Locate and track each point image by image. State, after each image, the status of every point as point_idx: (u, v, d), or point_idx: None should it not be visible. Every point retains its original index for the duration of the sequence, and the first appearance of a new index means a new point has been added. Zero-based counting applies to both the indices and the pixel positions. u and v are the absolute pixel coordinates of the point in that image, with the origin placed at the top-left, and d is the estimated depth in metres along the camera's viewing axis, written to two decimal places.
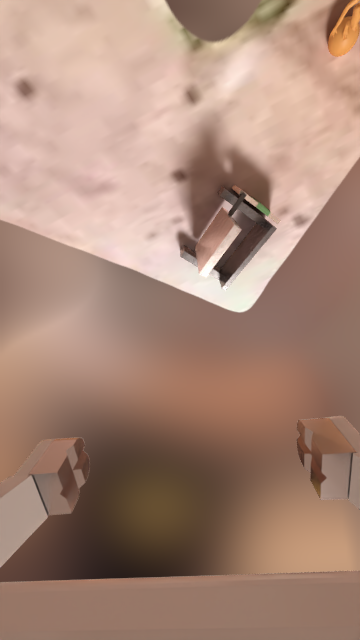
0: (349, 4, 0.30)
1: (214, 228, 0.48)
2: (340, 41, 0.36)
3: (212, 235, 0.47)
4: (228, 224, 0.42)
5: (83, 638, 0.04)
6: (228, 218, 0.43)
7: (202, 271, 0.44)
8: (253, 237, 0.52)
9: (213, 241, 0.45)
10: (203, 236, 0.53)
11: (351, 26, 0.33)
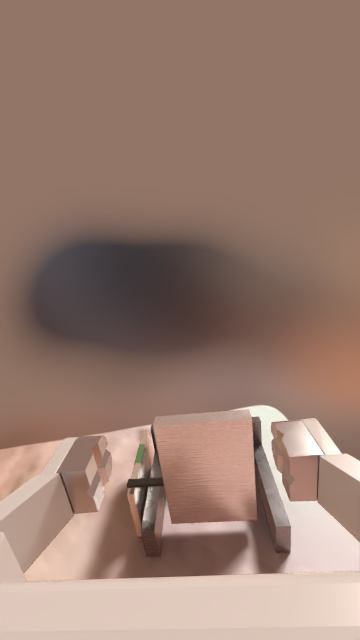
0: None
1: (197, 491, 0.27)
2: None
3: (204, 478, 0.27)
4: (164, 448, 0.26)
5: (83, 638, 0.04)
6: (162, 464, 0.26)
7: (245, 417, 0.25)
8: None
9: (203, 456, 0.26)
10: (228, 514, 0.28)
11: None
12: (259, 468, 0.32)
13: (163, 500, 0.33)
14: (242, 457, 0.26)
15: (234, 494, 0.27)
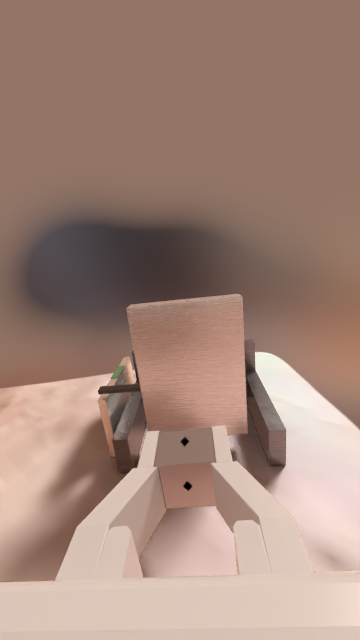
0: None
1: (178, 395, 0.24)
2: None
3: (187, 378, 0.23)
4: (140, 339, 0.22)
5: (83, 638, 0.04)
6: (138, 360, 0.23)
7: (234, 297, 0.21)
8: None
9: (185, 348, 0.22)
10: None
11: None
12: (251, 388, 0.29)
13: (143, 424, 0.29)
14: (231, 349, 0.22)
15: (221, 399, 0.23)
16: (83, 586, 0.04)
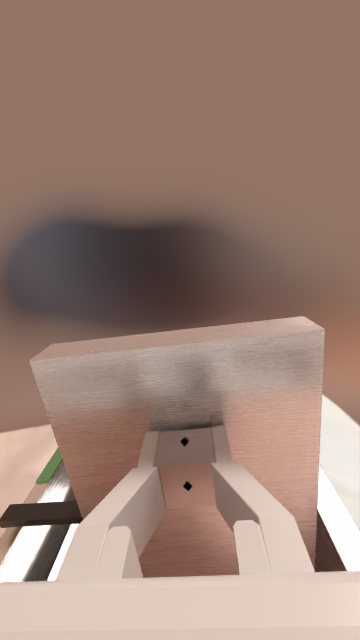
0: None
1: (167, 536, 0.11)
2: None
3: None
4: (72, 427, 0.09)
5: (83, 638, 0.04)
6: (72, 470, 0.10)
7: (300, 329, 0.08)
8: None
9: None
10: None
11: None
12: None
13: None
14: (287, 449, 0.09)
15: None
16: (83, 586, 0.04)
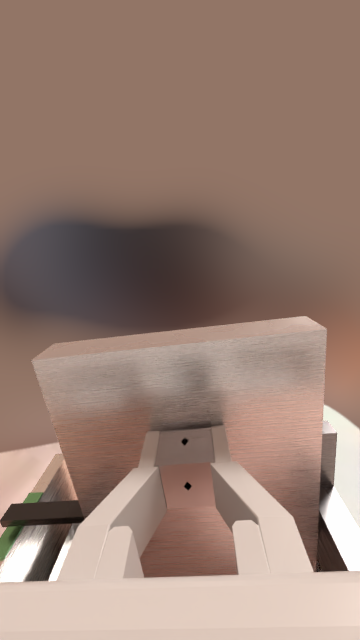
0: None
1: (168, 536, 0.11)
2: None
3: None
4: (74, 427, 0.09)
5: (83, 638, 0.04)
6: (73, 469, 0.10)
7: (302, 328, 0.08)
8: None
9: None
10: None
11: None
12: None
13: None
14: (289, 449, 0.09)
15: None
16: (83, 586, 0.04)
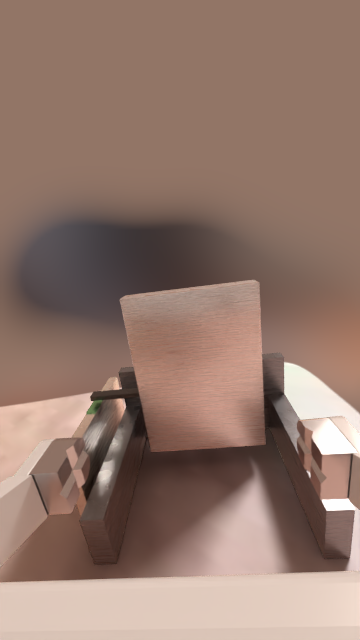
0: None
1: (184, 401, 0.20)
2: None
3: (193, 381, 0.20)
4: (137, 335, 0.19)
5: (83, 638, 0.04)
6: (135, 360, 0.19)
7: (249, 283, 0.17)
8: None
9: (191, 346, 0.19)
10: (226, 437, 0.21)
11: None
12: (283, 423, 0.20)
13: (133, 474, 0.21)
14: (245, 346, 0.18)
15: (234, 405, 0.20)
16: (83, 586, 0.04)
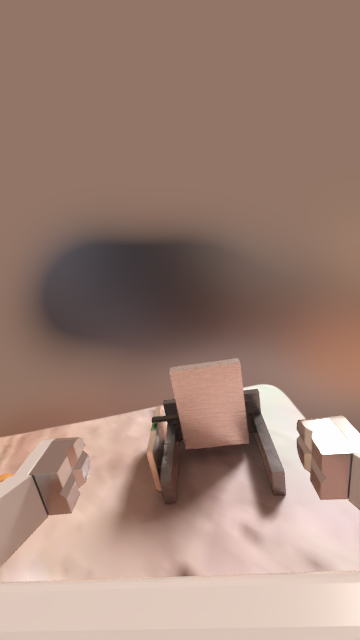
0: None
1: (203, 421, 0.37)
2: None
3: (208, 411, 0.37)
4: (178, 389, 0.36)
5: (83, 638, 0.04)
6: (177, 401, 0.36)
7: (235, 362, 0.34)
8: None
9: (206, 393, 0.36)
10: (227, 439, 0.38)
11: None
12: (258, 431, 0.37)
13: (177, 462, 0.38)
14: (235, 393, 0.35)
15: (231, 423, 0.37)
16: (83, 586, 0.04)
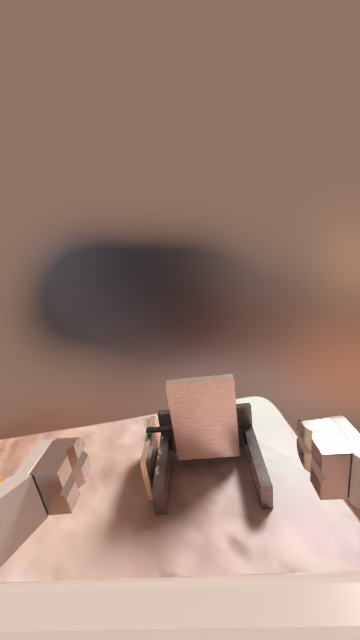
0: None
1: (196, 433, 0.38)
2: None
3: (201, 424, 0.38)
4: (173, 402, 0.37)
5: (83, 638, 0.04)
6: (171, 413, 0.37)
7: (229, 378, 0.36)
8: None
9: (200, 407, 0.37)
10: (219, 452, 0.39)
11: None
12: (249, 445, 0.39)
13: (169, 472, 0.39)
14: (228, 407, 0.37)
15: (223, 436, 0.38)
16: (83, 586, 0.04)
